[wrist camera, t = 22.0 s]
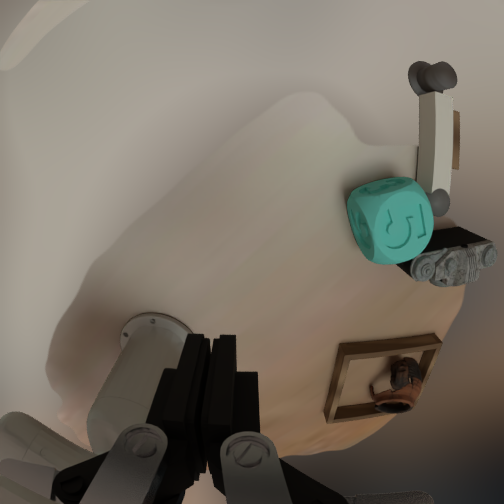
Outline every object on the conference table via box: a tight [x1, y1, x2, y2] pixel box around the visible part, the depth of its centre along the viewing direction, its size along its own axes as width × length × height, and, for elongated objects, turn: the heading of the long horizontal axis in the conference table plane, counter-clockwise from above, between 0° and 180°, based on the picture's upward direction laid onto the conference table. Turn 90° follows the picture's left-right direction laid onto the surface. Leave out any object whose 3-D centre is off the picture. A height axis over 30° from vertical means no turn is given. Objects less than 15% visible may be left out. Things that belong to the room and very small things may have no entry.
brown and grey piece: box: [408, 61, 460, 170], centre depth 29 cm, size 15×7×5 cm, turn 179°
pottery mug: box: [370, 358, 422, 413], centre depth 42 cm, size 12×10×8 cm
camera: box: [396, 226, 497, 287], centre depth 33 cm, size 15×7×10 cm, turn 99°
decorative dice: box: [347, 177, 434, 264], centre depth 32 cm, size 8×8×8 cm
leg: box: [416, 91, 453, 217], centre depth 31 cm, size 16×4×4 cm, turn 178°
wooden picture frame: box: [324, 333, 442, 424], centre depth 43 cm, size 16×18×3 cm
